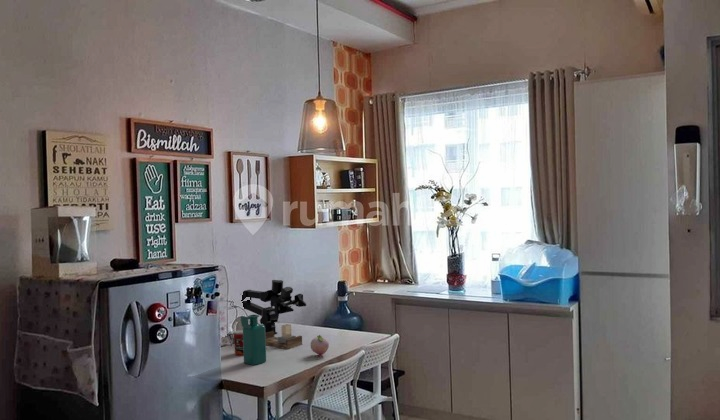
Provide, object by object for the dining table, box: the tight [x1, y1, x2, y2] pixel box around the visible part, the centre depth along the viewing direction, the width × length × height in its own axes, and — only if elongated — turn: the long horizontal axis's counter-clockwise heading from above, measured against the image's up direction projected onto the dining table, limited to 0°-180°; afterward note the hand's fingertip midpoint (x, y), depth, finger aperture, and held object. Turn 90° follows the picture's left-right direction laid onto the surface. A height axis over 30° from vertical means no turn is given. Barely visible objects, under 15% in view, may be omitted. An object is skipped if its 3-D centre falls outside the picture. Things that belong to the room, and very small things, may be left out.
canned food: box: [233, 329, 244, 357], centre depth 290 cm, size 8×8×11 cm
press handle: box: [277, 323, 297, 344], centre depth 304 cm, size 6×7×8 cm
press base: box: [265, 331, 303, 350], centre depth 307 cm, size 22×10×4 cm, turn 52°
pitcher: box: [240, 314, 267, 366], centre depth 273 cm, size 10×8×22 cm
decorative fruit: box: [310, 334, 330, 357], centre depth 282 cm, size 9×8×10 cm
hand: (299, 307), depth 314 cm, fingers open, 9 cm apart
